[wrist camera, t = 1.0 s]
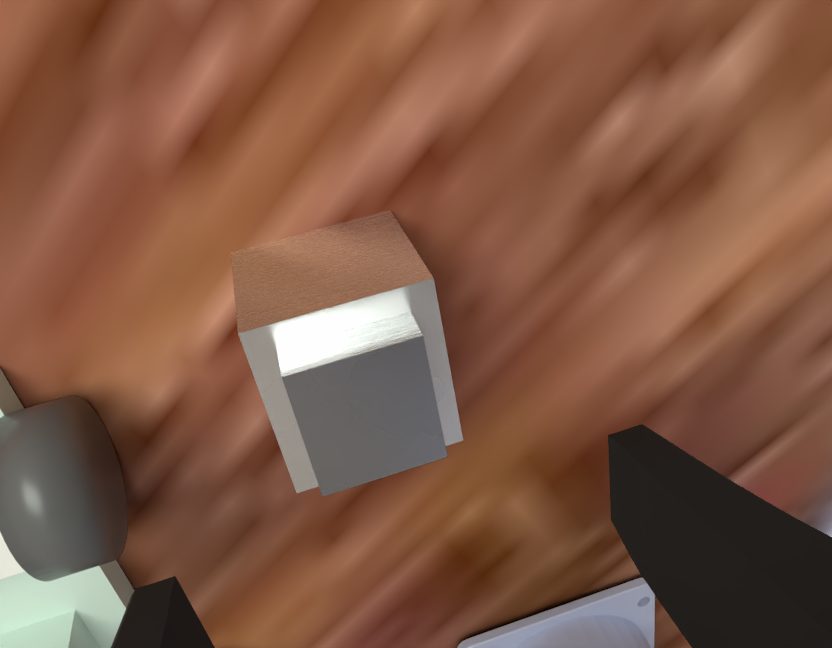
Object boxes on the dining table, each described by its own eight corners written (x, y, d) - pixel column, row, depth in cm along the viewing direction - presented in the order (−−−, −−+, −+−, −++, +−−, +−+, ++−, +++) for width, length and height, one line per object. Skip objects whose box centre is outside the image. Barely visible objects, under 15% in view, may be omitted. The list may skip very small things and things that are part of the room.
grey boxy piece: (419, 352, 20) (477, 468, 16) (280, 393, 20) (302, 524, 15) (389, 208, 18) (448, 300, 14) (230, 251, 17) (240, 360, 13)
